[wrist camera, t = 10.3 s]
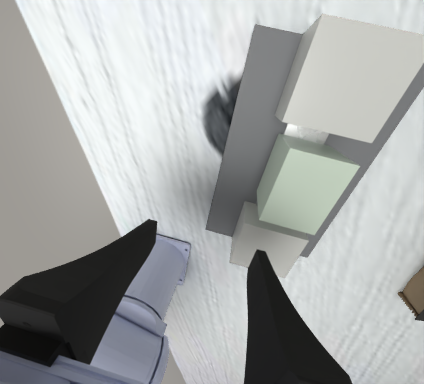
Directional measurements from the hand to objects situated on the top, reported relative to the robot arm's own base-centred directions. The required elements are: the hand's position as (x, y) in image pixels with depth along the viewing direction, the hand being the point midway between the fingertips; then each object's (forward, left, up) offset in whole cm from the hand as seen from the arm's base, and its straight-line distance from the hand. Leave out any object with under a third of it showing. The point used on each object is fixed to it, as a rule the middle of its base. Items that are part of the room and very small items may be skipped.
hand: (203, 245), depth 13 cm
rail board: (+4, -6, -9) cm, 12 cm away
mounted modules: (+4, -6, -9) cm, 12 cm away
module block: (+4, -6, -8) cm, 11 cm away
